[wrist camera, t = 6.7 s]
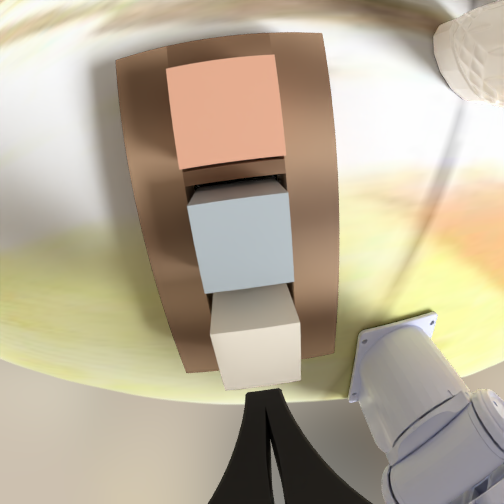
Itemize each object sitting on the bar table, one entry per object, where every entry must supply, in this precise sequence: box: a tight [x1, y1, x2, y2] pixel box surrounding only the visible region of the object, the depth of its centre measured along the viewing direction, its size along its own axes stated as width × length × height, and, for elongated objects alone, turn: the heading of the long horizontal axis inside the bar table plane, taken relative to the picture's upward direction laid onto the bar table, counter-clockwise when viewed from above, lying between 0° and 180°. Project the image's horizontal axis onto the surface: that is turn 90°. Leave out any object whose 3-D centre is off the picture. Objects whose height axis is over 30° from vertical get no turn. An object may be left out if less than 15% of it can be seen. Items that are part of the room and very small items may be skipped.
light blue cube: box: [187, 178, 294, 294], centre depth 14 cm, size 4×4×4 cm
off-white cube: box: [210, 283, 301, 391], centre depth 15 cm, size 4×4×4 cm
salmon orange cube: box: [166, 55, 286, 170], centre depth 11 cm, size 4×4×4 cm
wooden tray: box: [116, 32, 339, 373], centre depth 16 cm, size 19×10×3 cm, turn 6°
